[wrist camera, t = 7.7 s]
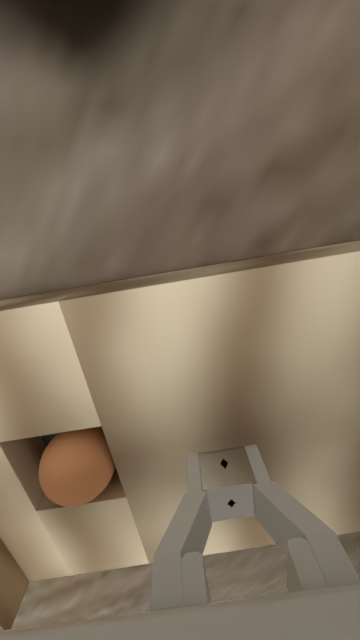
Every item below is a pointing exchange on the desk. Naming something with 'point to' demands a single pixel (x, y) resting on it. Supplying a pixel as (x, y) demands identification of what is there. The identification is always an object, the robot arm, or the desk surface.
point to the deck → (178, 403)
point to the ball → (76, 466)
